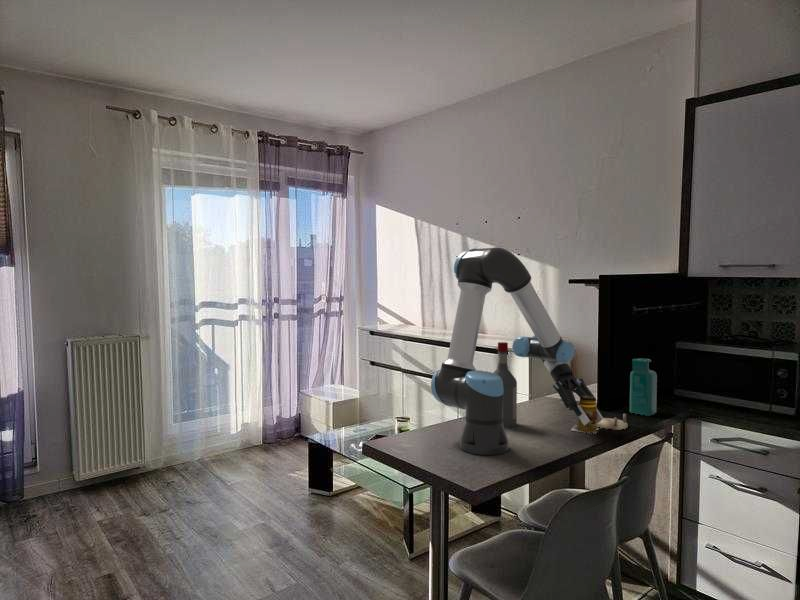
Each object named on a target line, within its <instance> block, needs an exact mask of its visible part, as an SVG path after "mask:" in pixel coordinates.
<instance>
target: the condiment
mask: <svg viewBox="0 0 800 600" xmlns="http://www.w3.org/2000/svg"><path fill="white" fill-rule="evenodd" d="M596 403H597V399H596V396H589V395H582V396H580V397H579V403H578V405H580V406H581V408H582V409H583V411H584V412H585V414H586V415H587V417H588V419H589V420H590V422H588V423H587V424H586V425H583V423H582V421H581V420H580V418H579V417H578V416H577V418H578V421H577V423H578V425H577V424H575V425H574V426H572V428H571V429H570V431H573V432H580V433H586V432H587V434H591V433H590V432H593V434H594V435H595V434H597V433H598V431H599V429H600V428H598V427H597V426H596V423H597V422H596V421H597V409H598V406H597V404H596ZM578 430H579V431H578ZM596 430H598V431H597V432H596ZM594 432H595V433H594ZM593 434H592V435H593Z"/></svg>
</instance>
